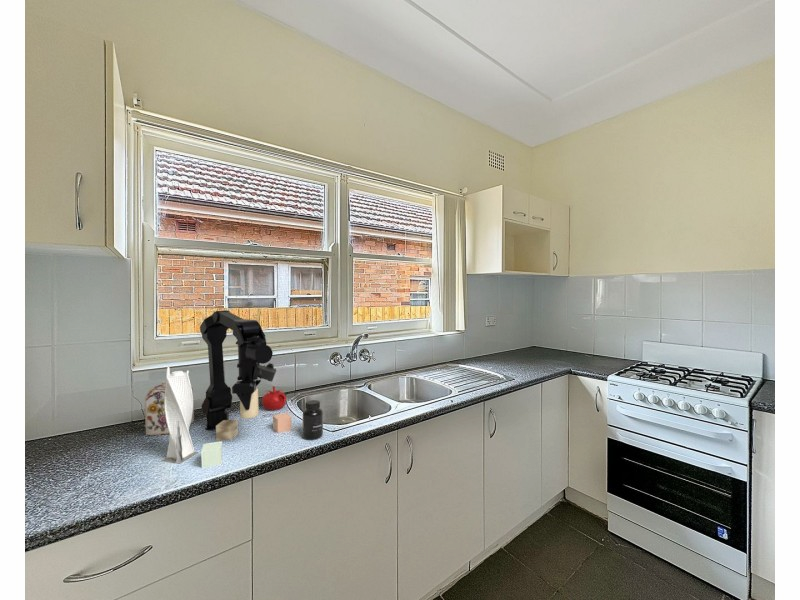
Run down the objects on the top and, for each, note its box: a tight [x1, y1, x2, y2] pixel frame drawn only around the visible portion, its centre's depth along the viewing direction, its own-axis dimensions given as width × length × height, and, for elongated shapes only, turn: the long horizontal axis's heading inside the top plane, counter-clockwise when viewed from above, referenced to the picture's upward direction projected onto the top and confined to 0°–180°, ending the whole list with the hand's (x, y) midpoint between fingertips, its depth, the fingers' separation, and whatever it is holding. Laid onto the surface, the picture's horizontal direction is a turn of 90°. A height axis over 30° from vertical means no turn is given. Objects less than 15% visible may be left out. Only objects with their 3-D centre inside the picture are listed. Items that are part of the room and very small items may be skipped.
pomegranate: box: [261, 385, 287, 411], centre depth 150 cm, size 10×10×9 cm
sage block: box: [200, 440, 223, 468], centre depth 104 cm, size 5×5×5 cm
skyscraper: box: [160, 366, 199, 465], centre depth 108 cm, size 8×8×28 cm
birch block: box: [215, 419, 239, 441], centre depth 122 cm, size 5×5×5 cm
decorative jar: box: [144, 379, 195, 436], centre depth 129 cm, size 12×12×18 cm
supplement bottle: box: [302, 399, 324, 441], centre depth 121 cm, size 7×7×12 cm
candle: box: [239, 387, 259, 420], centre depth 114 cm, size 6×6×10 cm
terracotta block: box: [272, 412, 293, 434], centre depth 128 cm, size 5×5×5 cm
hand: (249, 406), depth 115 cm, fingers closed on candle, 5 cm apart
